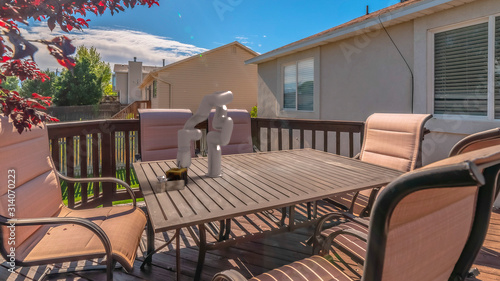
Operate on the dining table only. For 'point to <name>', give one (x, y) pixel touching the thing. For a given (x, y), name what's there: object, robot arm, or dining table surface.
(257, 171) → the dining table surface
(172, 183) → the centring jig
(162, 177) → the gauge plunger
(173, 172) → the candle
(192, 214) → the dining table surface
